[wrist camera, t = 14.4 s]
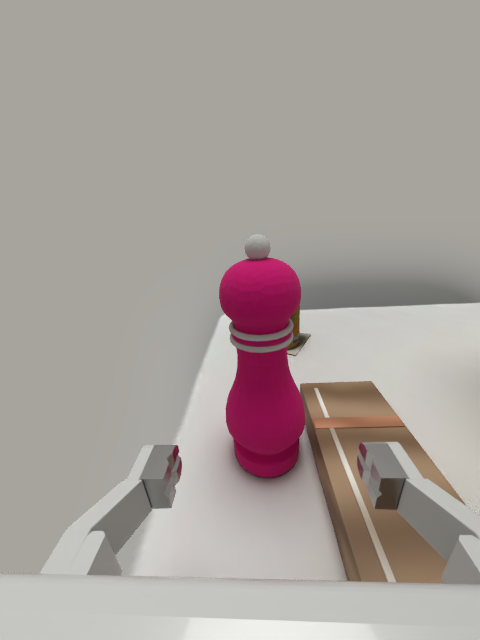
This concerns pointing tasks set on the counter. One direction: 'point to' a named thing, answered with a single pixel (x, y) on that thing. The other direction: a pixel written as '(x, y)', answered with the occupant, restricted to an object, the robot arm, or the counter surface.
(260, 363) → the pepper mill
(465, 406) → the counter surface
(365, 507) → the board
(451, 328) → the counter surface
